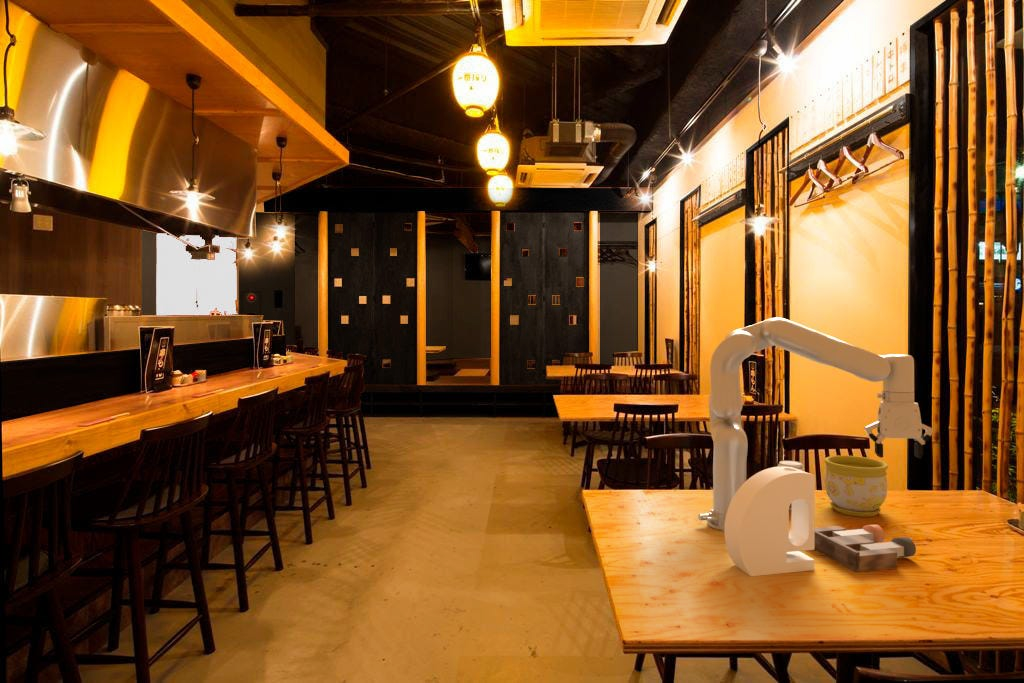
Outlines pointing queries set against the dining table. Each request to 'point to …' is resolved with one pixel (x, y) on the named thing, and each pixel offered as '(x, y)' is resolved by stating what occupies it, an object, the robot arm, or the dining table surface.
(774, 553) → the bracket
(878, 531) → the rust knob
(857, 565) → the brown wooden tray
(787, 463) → the supplement can
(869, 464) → the flowerpot
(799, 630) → the dining table surface
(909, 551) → the white and grey bar
